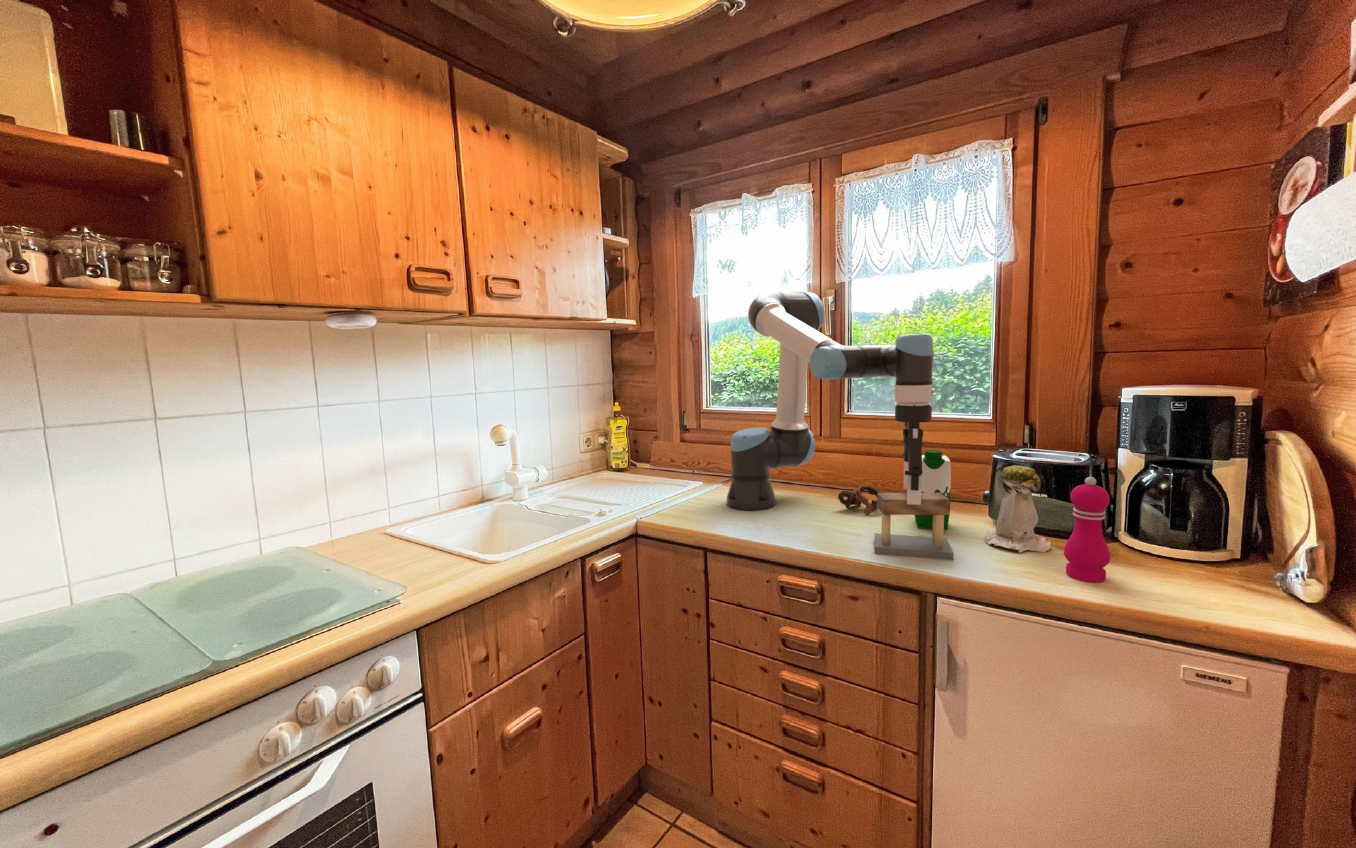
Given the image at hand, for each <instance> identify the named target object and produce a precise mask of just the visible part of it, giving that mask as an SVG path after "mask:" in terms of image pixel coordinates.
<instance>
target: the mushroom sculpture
mask: <svg viewBox="0 0 1356 848" xmlns="http://www.w3.org/2000/svg"><path fill="white" fill-rule="evenodd" d="M1000 478H1001V480H1002V488H1003V489H1004V491H1005V492H1006V493H1005V495H1003V498H1002V499H1001V500H1002V501H1001V504H1000V507H999V509H1000V510H999V511H998V516H997V521H996V526H995V529H989V530H988V531H986V532H985V534H984V541H985V544H987V545H988V546H989V545H992V544H993V545H994V546H996V547H998V546H999V547H1002V548H1007V549H1012V550H1017V551H1018V553H1019V554H1020V553H1023V552H1025V551H1033V552H1040V553H1041V552H1042V553H1045V552H1046V551H1049V550H1050V549H1051V539H1050V538H1048V541H1047V540H1046V539H1047V538H1046V537H1041V536H1040V535H1039V534H1036V533H1035V531H1034V529H1035V527H1036V525H1038V524H1037V523H1038V522H1039V517H1038V516H1039V515H1038V512H1037V510H1036V507H1035V504H1034V500H1033V497H1032V495H1031V494H1032V493H1035V492H1038V491H1040V489H1041V478H1042V479H1043V476H1041V478H1040V477H1039V475H1038V474H1037V471H1036V470H1035V469H1034V468H1031V467H1028V466H1024V465H1016V464H1015V465H1009V466H1005V467H1004V468H1003V467H1002V470H1001V472H1000Z"/></svg>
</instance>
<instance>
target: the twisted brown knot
mask: <svg viewBox="0 0 1356 848" xmlns="http://www.w3.org/2000/svg"><path fill="white" fill-rule="evenodd" d="M865 491H867V493H868V495H872V496H873V495H874V496H875V497H876V498H877V493H880V492H879V491H878V490H877V489H876V488H874V487H872V486H869V485H859V486H858V487H857V488H855V489H853V490H852V491H848V490H842V491H840V492H839V493H838V495H837V498H838V501H839V502H840V503H841V504H842V505H844V506H845V508H846V509H847V508H848V509H850V506H856V507H857V506H858V505H859V507H860V505H862V504H863V505H864V506H865V509H864V510H863V512H864V514H865V515H867V516H868V515H871V514H872V512H875V511H877V510H879V509H878V508H877V499H876V500H875V499H872V500H871V502H869V498H868V497H866V496H865V495H864V494H862V493H864V492H865ZM844 497H846V499H845V498H844Z"/></svg>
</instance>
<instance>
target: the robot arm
mask: <svg viewBox="0 0 1356 848" xmlns="http://www.w3.org/2000/svg"><path fill="white" fill-rule="evenodd" d="M825 314H826V312H825V307H824V304H823V301H822V300H821V298H820V297H819V296H818V295H817V294H815V293H813V292H808V291H802V290H801V291H775V290H774V291H767V292H763V293H761V294H759V295H758V296H757V297H755V298H754V300H753V301H752V302H751V304H750V305H749V308H748V314H747V317H748V321H749V324H750V326H751V328H753V329H754V330H755V331H756V332H757V333H758V334H760V335H761V336H763V337H766V338H767V337H768V338H769V337H771V338H772V339H774V340H775V341H777V342H778V343H780V344H779V356H778V357H779V360H778V361H779V362H778V375H777V377H778V378H777V397H776V416H775V419H774V420H773V421H772V422H771V424H770V430H769V428H766V427H750V428H746V429H745V428H744V429H741V430H738V431H736V432H734V433H733V434H732V435H731V439H730V456H731V457H730V458H731V462H730V463H731V464H730V465H731V482H730V486H729V488H728V492H727V495H726V505H727V506H728V507H729V508H732V509H737V510H742V511H759V510H767V509H771V508H773V507H775V506H776V504H777V503H776V502H777V500H776V499H777V498H776V494H775V492H774V488H773V485H772V483H771V479H770V477H771V476H770V470H771V469H780V468H786V467H788V468H789V467H797V466H800V465H806V464H807V463H808V462H810V460H811V459H812V458H813V456H814V453H815V450H816V439H815V438H814V433H813V432H812V431H811V430H810V429H809V424H808V423H807V422H806V421H805V410H806V409H805V408H806V394H807V381H808V379H807V378H808V366H809V368H810V372H811V371H812V375H813V376H814V377H815V378H817V379H818V380H827V381H835V380H843V379H844V380H845V379H859V378H881V377H883V378H884V377H889V378H890V377H893V378H895V388H894V402H895V403H897V404H896V405H895V406H894V419H895V421H897V422H899V423H904V428H902V436H903V453H902V455H903V460H904V462H903V490H907V491H906V493H907V504H914V505H921V474H922V473H923V470H922V455H923V452H922V451H923V450H922V448H923V438H924V430H923V428H920V424H921V423H929V422H931V421H932V415H933V414H932V413H933V411H932V410H933V407H932V405H931V404H930V403H932V400H933V397H932V396H933V393H935V392H936V390H935V388H932V387H933V368H934V365H933V364H934V354H935V353H934V341H933V336H932V335H931V334H929V333H912V334H911V333H909V334H899V335H898V336H897V337H896V339H895V340H896V341H895V344H870V345H869V344H867V345H843V344H840V343H838V342H837V341H835V340H833V339H832V338H830V337H828V336H826V335H825V334H823V333H822V332H819V330H821V328H822V327H823V325H824V323H825V319H826V318H825V316H826V315H825Z"/></svg>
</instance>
